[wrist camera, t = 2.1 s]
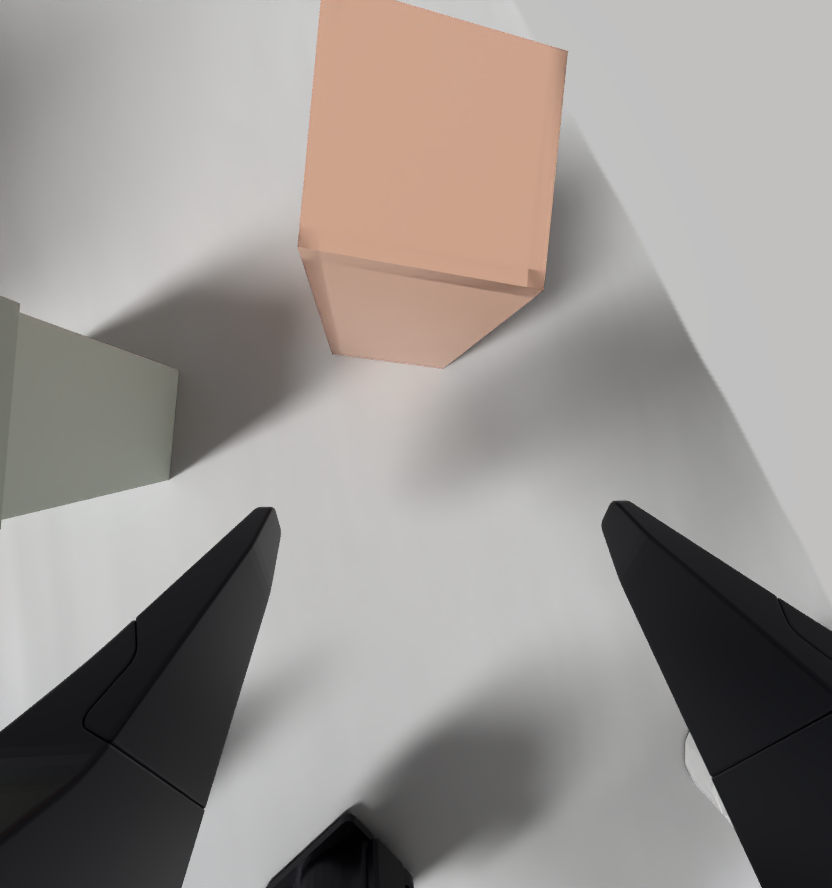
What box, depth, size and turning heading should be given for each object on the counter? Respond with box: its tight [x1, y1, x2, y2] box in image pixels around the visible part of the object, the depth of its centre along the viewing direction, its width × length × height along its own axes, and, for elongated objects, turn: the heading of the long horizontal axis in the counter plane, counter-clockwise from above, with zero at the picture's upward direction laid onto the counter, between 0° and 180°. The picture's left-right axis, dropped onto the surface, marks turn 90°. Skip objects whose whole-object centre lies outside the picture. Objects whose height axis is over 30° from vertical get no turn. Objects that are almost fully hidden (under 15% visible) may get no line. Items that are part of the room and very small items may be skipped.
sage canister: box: [0, 296, 179, 529], centre depth 14 cm, size 6×6×10 cm
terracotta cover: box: [298, 0, 568, 369], centre depth 15 cm, size 7×7×12 cm
